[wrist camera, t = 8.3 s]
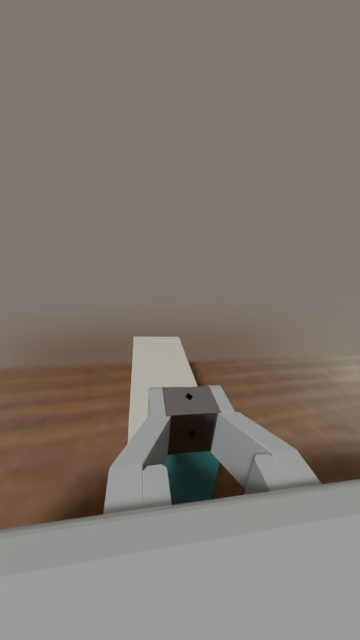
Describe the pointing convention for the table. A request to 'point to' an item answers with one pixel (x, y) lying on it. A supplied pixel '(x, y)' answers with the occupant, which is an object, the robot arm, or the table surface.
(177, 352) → the block
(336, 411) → the table surface
